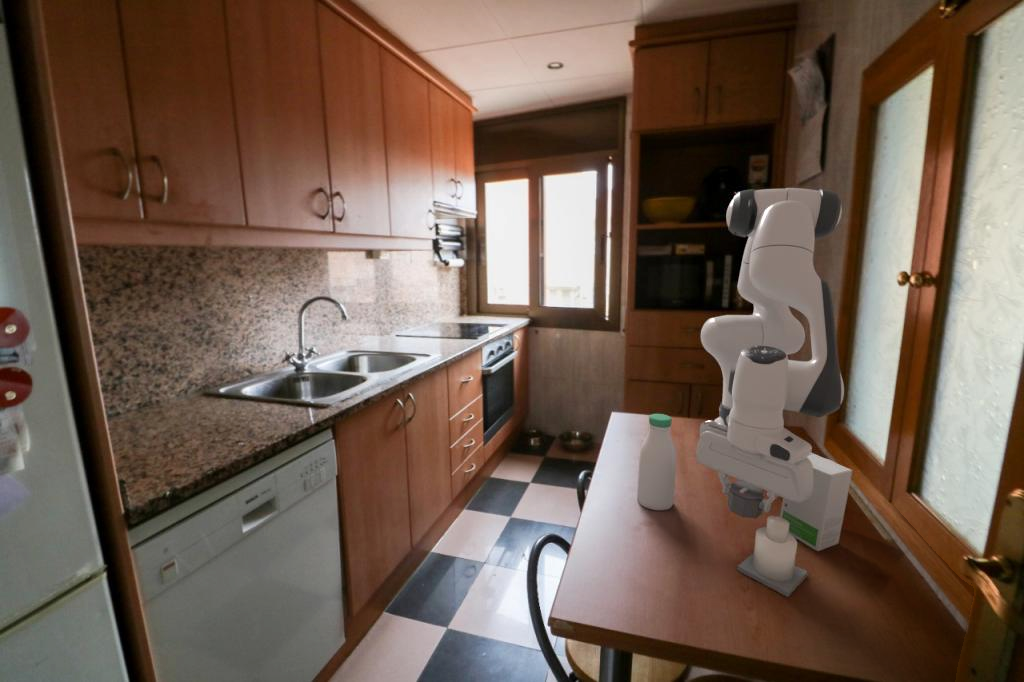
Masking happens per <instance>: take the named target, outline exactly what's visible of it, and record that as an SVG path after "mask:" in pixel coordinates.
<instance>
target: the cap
mask: <svg viewBox="0 0 1024 682" xmlns="http://www.w3.org/2000/svg"><path fill="white" fill-rule="evenodd" d="M727 496H728V495H727ZM763 498H765V496H764V490H763V489H761V488H758V487H756V486H753V485H751V484H749V483H746V482H744V481H741V480H739V481H737V480H736V481H733V482H732V483H731V488H729V496H728V498H727V507H728V509H729V510H730V512H731V513H733V514H735V515H738V516H739V517H742V518H745V519H758V518H760V516H761V515H763V511H762V510H760V509H758V507H759V501H760V500H762V499H763Z"/></svg>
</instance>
